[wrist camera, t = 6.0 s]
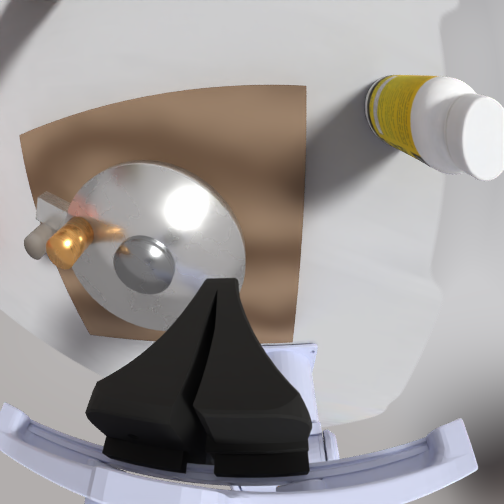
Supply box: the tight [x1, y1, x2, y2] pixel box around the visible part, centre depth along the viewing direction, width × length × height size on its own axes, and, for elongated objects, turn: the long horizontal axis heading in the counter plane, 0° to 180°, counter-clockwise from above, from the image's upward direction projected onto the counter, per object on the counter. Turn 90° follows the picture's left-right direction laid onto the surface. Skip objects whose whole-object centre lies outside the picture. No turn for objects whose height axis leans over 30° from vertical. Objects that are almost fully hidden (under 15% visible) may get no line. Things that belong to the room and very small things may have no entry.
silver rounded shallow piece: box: [36, 160, 246, 331], centre depth 18 cm, size 17×14×4 cm
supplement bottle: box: [365, 75, 504, 181], centre depth 12 cm, size 5×5×10 cm
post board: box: [19, 85, 306, 343], centre depth 19 cm, size 22×22×6 cm
